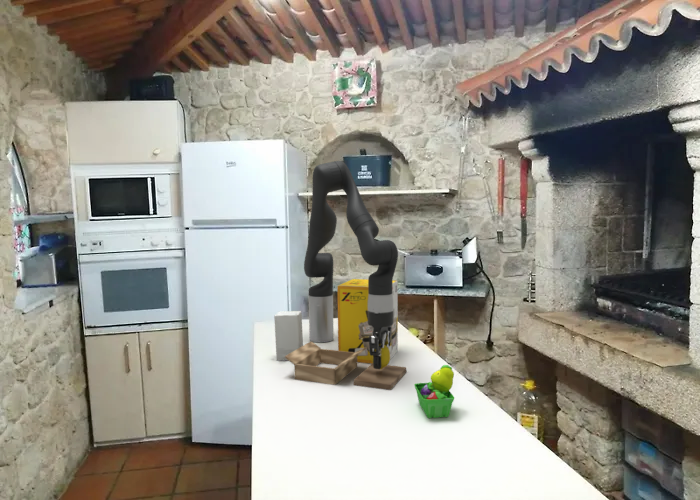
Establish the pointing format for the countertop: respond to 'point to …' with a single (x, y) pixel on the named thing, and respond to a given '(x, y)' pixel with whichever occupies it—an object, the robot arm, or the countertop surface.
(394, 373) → the walnut board
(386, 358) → the lemon
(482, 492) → the countertop surface
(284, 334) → the skincare box
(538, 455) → the countertop surface
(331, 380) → the carton
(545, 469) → the countertop surface
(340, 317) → the packaging box
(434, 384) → the fruit basket
